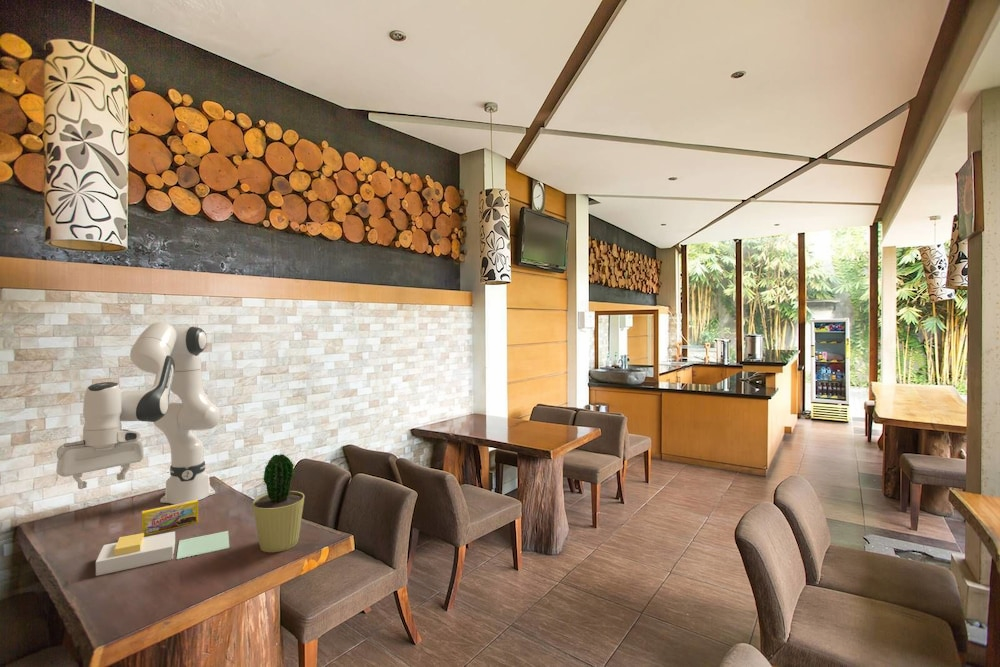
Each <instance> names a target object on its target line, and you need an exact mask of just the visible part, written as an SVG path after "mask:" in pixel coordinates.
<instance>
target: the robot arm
mask: <svg viewBox="0 0 1000 667" xmlns="http://www.w3.org/2000/svg"><path fill="white" fill-rule="evenodd" d="M207 337H208V336H207V334H206V331H204V330H203V328H201V327H197V326H190V327H189V326H181V325H180V326H175V325H174V326H172V325H171V324H169V323H167V322H162V321H159V322H154V323H151V324H150V325H148V326H147V327H146V328H145V329H144V330H143V331H142V332H141V334H140V335H139V337H138V338H137V339H136V340H135V342H134V344H133V345H132V347H131V349H130V353H129V355H130V360H131V361H132V364H134V366H135V367H136V368H138V369H139V370H141V371H144V372H146V373H151V374H153V375H154V374H155V378H154V382H153V386H152V387H151V388H149V389H145V390H124V389H122V388H120V384H119V383H117V382H114V381H105V382H97V383H94V384H91V385H89V386H88V387H86V389H85V393H84V397H83V404H82V405H83V406H82V408H83V409H82V415H83V418H84V425H83V427H82V440H77V441H73V442H72V441H71V442H65V443H63V444H61V445H60V446H59V447H58V448H57V450H56V457H57V463H56V474H57V475H58V476H60V477H62V478H63V477H64V478H66V477H71V476H72V478H73V479H74V481H75V482H76V483H77V488H78V489H79V490H82V489H87V488H88V486H87V484H88V483H87V481H84V480H82V479H81V478H82V477H83V474H85V473H86V474H87V473H91V472H95V471H100V470H101V471H102V470H105V469H110V468H115V467H120V466H121V468H122V469H121V471H120V472H119V473H116V476H117V477H116V480H117V481H122V480H125V479H126V474H127V472H128V470H129V469H130V467H131V466H130V465H131V464H136V463H140V462H142V460H143V459H144V455H145V454H144V445H143V442H142V441H141V440H140V438H141V433H140V432H138V431H136V430H135V431H134V430H129V429H122V422H149V423H153V424H154V426H155V427H156V428H158V429H159V430H160V431H161V432H162V433H163V435H164V436H165V437H166V439H167V442H168V444H169V448H170V456H171V457H170V459H171V461H170V462H171V463H170V467H169V474H170V476H169V478H168V479H167V480H166V481H165V494H164V495H163V496H162V497H161V498H160V501H159V503H161V504H164V503H166V504H171V505H174V504H179V503H184V502H189V501H194V500H198V501H201V500H203V499H205V498H207V497H209V496H212V495H215V494H216V491H215V489H214V488H213V487H212V485H211V482H210V475H209V473H207V472H206V462H205V458H204V450H205V449H204V443H203V441H202V440H201V439H199V438H198V437H196V435H195V434H194V433H193V431H205V430H210V429H214V428H216V427H217V425H218V424H219V423H220V420H221V410H220V408H218V406H217V405H215V403H212V402H211V400H210V399H209V397H208V396H207V394H206V392H205V389H204V386H203V374H202V359H201V355H200V354H201V353H202V352H203V351H204V350H205V349H206V347H207V343H208V338H207ZM171 392H172V394H174V395H176V396H177V397H179V399H180V401H181V402H171V403H170V402H169V401H170V394H171Z"/></svg>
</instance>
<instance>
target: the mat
mask: <svg viewBox="0 0 1000 667" xmlns="http://www.w3.org/2000/svg"><path fill="white" fill-rule="evenodd" d="M229 549H230V537H229V530H225V531H220V532H216V533H210V534H205V535H201V536H200V535H199V536H195V537H191V538H184V539H180V540H178V546H177V552H176V553H177V555H176V558H175V559H176V560H177V561H178V560H182V558H183V559H187V558H186V557H188V558H191V556H192V557H196V556H195V555H197V556H201V555H205V554H210V553H215V552H219V551H223V550H229Z"/></svg>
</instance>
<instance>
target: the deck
mask: <svg viewBox="0 0 1000 667" xmlns="http://www.w3.org/2000/svg"><path fill="white" fill-rule="evenodd" d="M116 545H117V542H112V543H108V544H106V543H105V544H103V546H102V548H101V550H100V552H99V554H98V556H97V559H96V561H95V576H96V577H97V576H102V575H107V574H111V573H116V572H120V571H125V570H130V569H134V568H135V569H136V568H139V567H140V568H141V567H143V566H144V567H145V566H149V565H153V564H157V563H158V564H159V563H163V562H167V561H171V559H172V560H173V559H174V555H173V554H175V547H176V531H170V532H164V533H159V534H155V535H153V534H152V535H147V536H144V541H143V544H142V547H141V550H140V551H138V552H133V553H128V554H123V555H118V556H115V551H114V549H115V547H116Z"/></svg>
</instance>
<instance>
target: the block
mask: <svg viewBox="0 0 1000 667" xmlns="http://www.w3.org/2000/svg"><path fill="white" fill-rule="evenodd" d="M144 537H145V536H144V533H142V532H141V533H136V534H129V535H124V536H119V538H118V540H117V542H116V543H117V545H116V547H115V549H114V551H115V556H118V555H123V554H128V553H133V552H138V551H140V550H141V547H142V544H143V541H144Z"/></svg>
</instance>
